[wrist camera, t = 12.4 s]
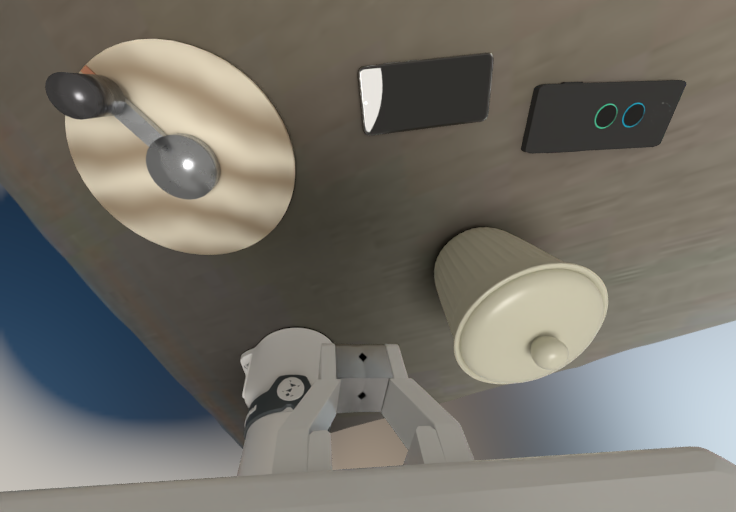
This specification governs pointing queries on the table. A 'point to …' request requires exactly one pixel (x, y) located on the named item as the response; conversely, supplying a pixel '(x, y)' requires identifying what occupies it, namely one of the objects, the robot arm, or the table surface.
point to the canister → (515, 306)
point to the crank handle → (139, 133)
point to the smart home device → (600, 115)
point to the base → (197, 118)
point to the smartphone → (425, 93)
